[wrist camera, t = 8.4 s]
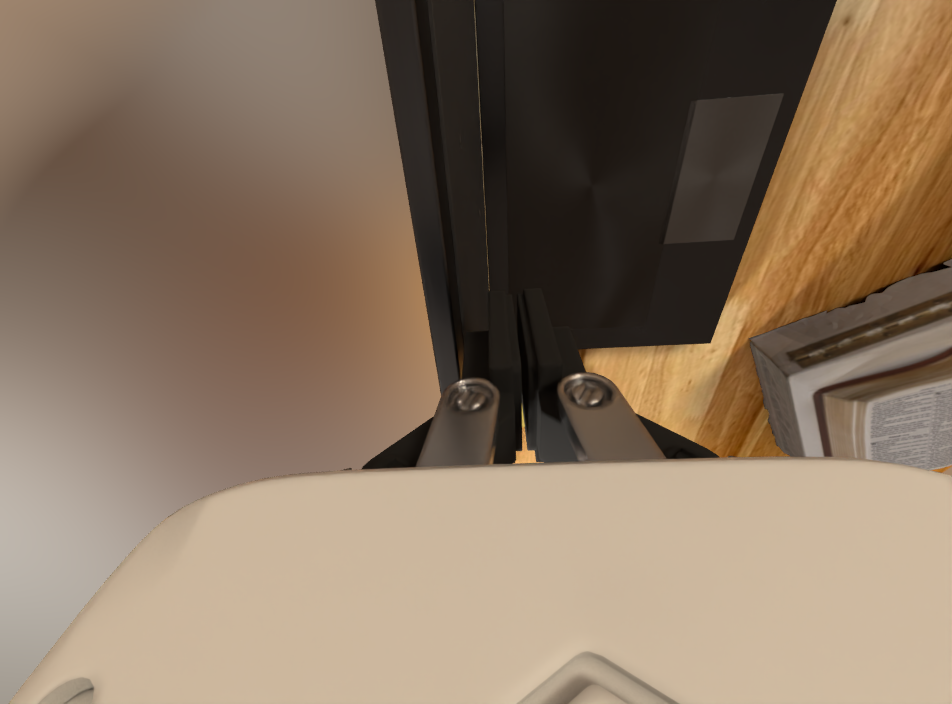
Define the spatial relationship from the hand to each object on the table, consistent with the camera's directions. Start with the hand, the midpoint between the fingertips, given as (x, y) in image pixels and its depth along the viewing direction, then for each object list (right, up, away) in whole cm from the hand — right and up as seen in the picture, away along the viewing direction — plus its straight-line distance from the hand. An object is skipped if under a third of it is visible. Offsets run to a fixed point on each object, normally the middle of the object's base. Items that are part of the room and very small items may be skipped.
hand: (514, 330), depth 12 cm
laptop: (+10, +13, +17) cm, 23 cm away
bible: (+41, -1, +26) cm, 49 cm away
